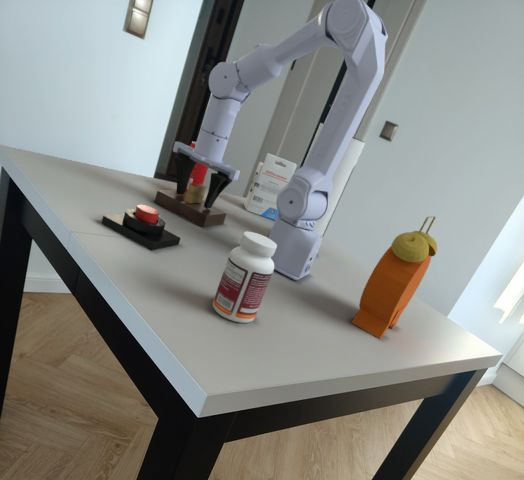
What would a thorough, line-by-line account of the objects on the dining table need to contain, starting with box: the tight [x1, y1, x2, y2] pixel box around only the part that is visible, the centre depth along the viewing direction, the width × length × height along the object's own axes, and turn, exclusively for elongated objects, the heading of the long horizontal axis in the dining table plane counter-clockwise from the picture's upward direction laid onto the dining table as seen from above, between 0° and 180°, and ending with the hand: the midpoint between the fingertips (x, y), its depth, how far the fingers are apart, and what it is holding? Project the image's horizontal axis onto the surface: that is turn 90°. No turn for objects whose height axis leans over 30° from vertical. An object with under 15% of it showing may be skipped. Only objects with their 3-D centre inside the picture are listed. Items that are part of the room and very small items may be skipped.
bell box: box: [101, 208, 181, 251], centre depth 83 cm, size 10×8×3 cm
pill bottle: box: [212, 231, 277, 324], centre depth 68 cm, size 6×6×11 cm
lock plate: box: [153, 189, 227, 228], centre depth 105 cm, size 12×9×3 cm
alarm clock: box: [351, 215, 438, 339], centre depth 84 cm, size 13×6×20 cm, turn 150°
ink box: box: [243, 152, 298, 221], centre depth 128 cm, size 8×5×15 cm, turn 99°
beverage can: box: [185, 140, 209, 193], centre depth 113 cm, size 5×5×12 cm
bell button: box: [134, 204, 160, 223], centre depth 82 cm, size 4×4×2 cm
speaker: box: [302, 122, 366, 238], centre depth 110 cm, size 11×10×26 cm
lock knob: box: [184, 183, 208, 204], centre depth 104 cm, size 5×1×4 cm, turn 156°
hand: (193, 200), depth 104 cm, fingers open, 6 cm apart
